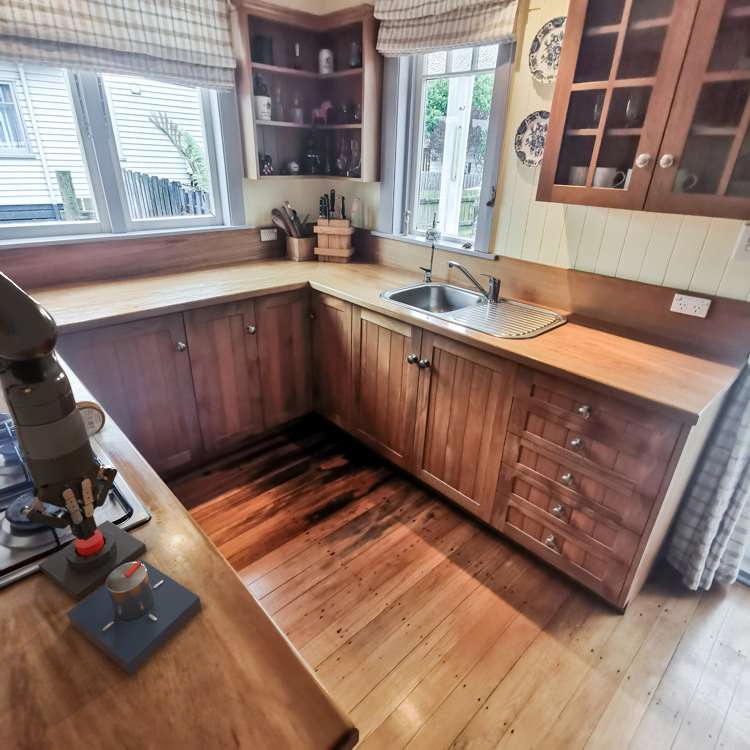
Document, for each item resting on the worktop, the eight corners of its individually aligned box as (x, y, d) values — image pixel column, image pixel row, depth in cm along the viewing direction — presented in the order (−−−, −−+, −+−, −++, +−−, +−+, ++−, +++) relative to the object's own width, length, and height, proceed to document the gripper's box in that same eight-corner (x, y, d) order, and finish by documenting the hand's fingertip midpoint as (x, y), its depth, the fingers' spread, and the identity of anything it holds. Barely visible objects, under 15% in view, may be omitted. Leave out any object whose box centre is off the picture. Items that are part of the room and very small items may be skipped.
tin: (106, 426, 108) (97, 394, 104) (110, 431, 106) (102, 399, 102) (29, 452, 98) (16, 418, 94) (32, 459, 96) (20, 424, 92)
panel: (72, 627, 64) (66, 612, 62) (144, 571, 72) (140, 556, 71) (132, 678, 58) (127, 662, 57) (202, 611, 67) (199, 596, 65)
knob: (135, 625, 61) (126, 595, 58) (106, 614, 62) (96, 584, 60) (161, 595, 65) (154, 565, 63) (133, 585, 66) (125, 556, 64)
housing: (42, 574, 71) (34, 555, 69) (110, 529, 80) (105, 511, 78) (80, 605, 67) (73, 586, 65) (147, 553, 75) (143, 535, 74)
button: (72, 550, 71) (69, 541, 70) (95, 535, 74) (92, 526, 73) (86, 560, 69) (83, 551, 69) (109, 544, 72) (106, 536, 71)
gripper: (14, 476, 56) (54, 577, 63) (118, 426, 66) (141, 518, 74) (-16, 456, 59) (26, 554, 67) (87, 411, 69) (113, 501, 77)
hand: (86, 535), depth 70 cm, fingers closed
